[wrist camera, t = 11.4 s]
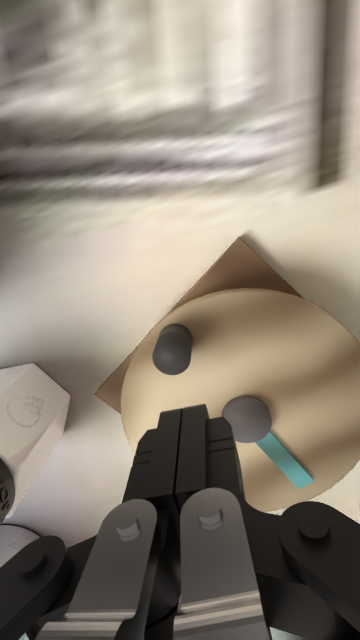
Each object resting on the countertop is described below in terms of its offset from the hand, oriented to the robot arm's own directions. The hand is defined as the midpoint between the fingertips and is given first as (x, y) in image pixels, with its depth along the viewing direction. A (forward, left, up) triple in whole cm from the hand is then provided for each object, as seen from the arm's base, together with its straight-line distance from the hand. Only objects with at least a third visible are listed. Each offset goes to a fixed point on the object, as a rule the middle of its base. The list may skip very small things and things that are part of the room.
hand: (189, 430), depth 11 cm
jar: (-19, +5, -17) cm, 26 cm away
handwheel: (-4, -8, -14) cm, 16 cm away
